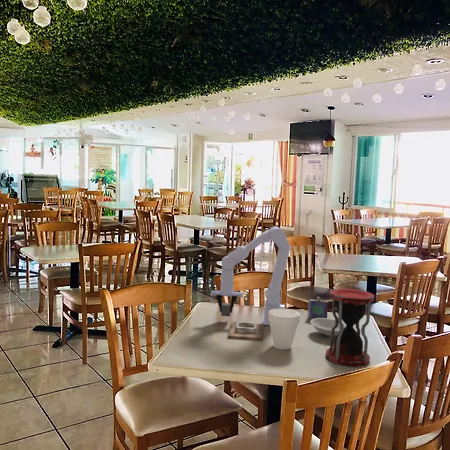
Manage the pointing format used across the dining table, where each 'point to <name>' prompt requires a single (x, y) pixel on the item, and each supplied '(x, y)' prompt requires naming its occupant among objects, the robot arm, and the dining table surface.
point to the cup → (283, 327)
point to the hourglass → (349, 327)
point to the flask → (317, 308)
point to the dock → (246, 330)
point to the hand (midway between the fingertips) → (226, 311)
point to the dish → (325, 326)
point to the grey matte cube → (226, 309)
